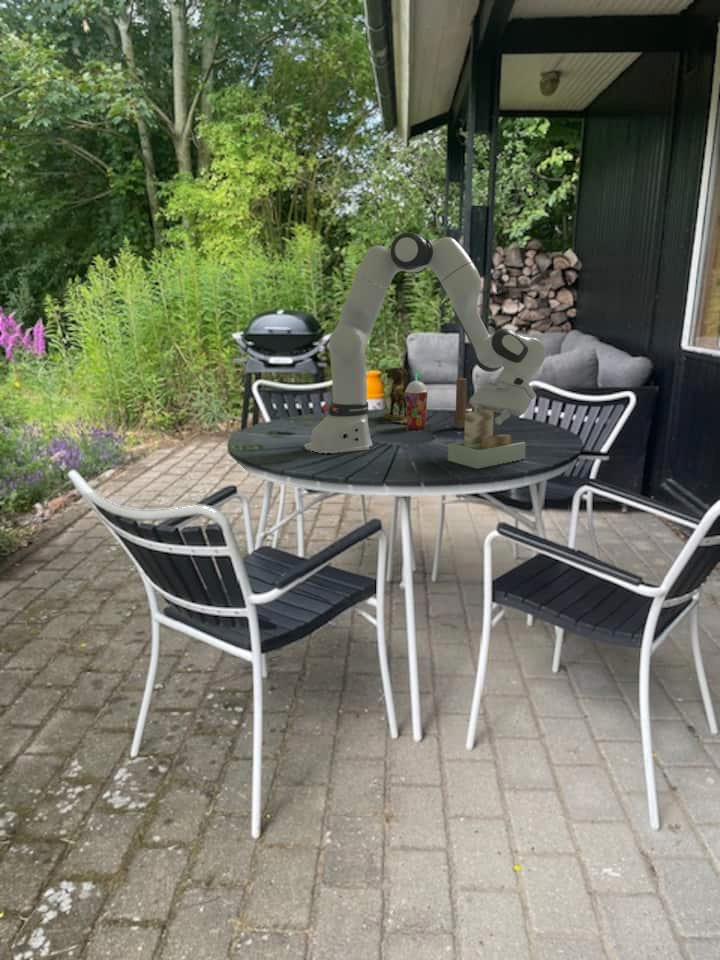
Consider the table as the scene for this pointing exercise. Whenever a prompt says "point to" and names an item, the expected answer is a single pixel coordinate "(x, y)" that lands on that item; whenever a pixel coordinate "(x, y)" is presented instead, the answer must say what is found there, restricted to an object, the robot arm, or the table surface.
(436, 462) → the table surface
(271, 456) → the table surface
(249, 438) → the table surface
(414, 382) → the smoothie
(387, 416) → the figurine
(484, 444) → the offcut stack
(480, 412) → the beige brown rectangular slab
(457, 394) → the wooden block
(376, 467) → the table surface
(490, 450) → the rack
